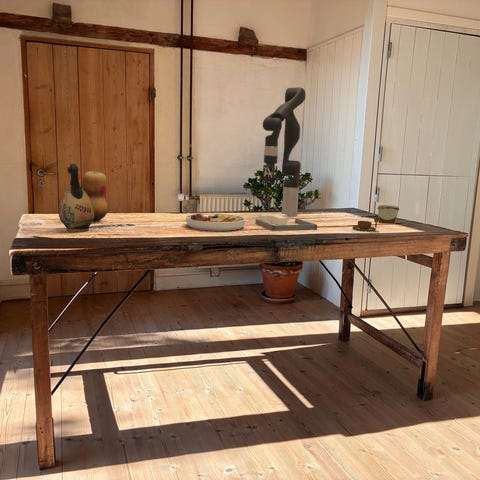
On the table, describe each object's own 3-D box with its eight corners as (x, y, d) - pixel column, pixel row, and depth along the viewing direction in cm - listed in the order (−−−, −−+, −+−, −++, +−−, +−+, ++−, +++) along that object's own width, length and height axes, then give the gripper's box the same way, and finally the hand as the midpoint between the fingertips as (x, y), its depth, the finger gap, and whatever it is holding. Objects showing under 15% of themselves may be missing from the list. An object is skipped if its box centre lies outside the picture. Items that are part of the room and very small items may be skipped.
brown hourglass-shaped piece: (97, 224, 234) (96, 172, 229) (74, 222, 238) (72, 171, 233) (113, 220, 247) (112, 172, 242) (91, 218, 251) (90, 170, 246)
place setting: (344, 228, 256) (345, 217, 254) (375, 227, 263) (376, 216, 262) (364, 234, 240) (365, 222, 238) (396, 232, 247) (397, 221, 246)
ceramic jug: (58, 228, 220) (55, 162, 214) (92, 227, 226) (91, 163, 221) (60, 234, 205) (57, 163, 199) (97, 233, 211) (96, 164, 205)
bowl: (211, 221, 261) (211, 206, 259) (256, 227, 244) (257, 212, 243) (173, 227, 237) (173, 211, 235) (220, 235, 220) (221, 218, 218)
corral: (255, 223, 255) (255, 219, 255) (297, 222, 264) (297, 218, 264) (272, 230, 235) (272, 225, 235) (317, 229, 244) (317, 224, 243)
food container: (395, 222, 280) (397, 205, 278) (398, 224, 274) (399, 206, 272) (374, 221, 281) (375, 204, 279) (376, 223, 275) (377, 205, 273)
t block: (258, 221, 264) (259, 214, 263) (283, 221, 269) (283, 214, 268) (269, 225, 250) (269, 218, 250) (295, 225, 256) (295, 217, 255)
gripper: (259, 154, 270) (258, 183, 273) (270, 154, 257) (268, 185, 260) (271, 154, 272) (270, 183, 275) (282, 155, 259) (280, 185, 262)
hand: (269, 184), depth 268 cm, fingers open, 8 cm apart
